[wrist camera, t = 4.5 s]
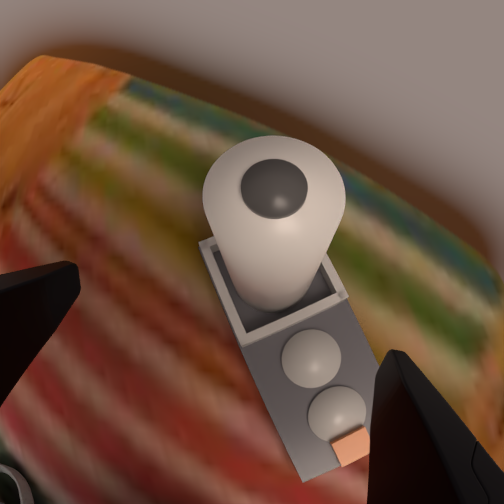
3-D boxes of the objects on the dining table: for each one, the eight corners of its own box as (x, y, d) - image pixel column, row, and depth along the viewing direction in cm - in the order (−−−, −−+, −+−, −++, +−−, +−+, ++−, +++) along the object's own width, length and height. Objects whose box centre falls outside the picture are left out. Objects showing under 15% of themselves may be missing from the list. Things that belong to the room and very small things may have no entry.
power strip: (396, 424, 16) (413, 431, 13) (300, 474, 15) (304, 488, 13) (295, 217, 21) (298, 198, 19) (203, 255, 20) (194, 240, 18)
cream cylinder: (251, 326, 17) (234, 280, 8) (221, 256, 19) (182, 159, 10) (323, 293, 18) (373, 219, 9) (289, 227, 19) (303, 116, 10)
